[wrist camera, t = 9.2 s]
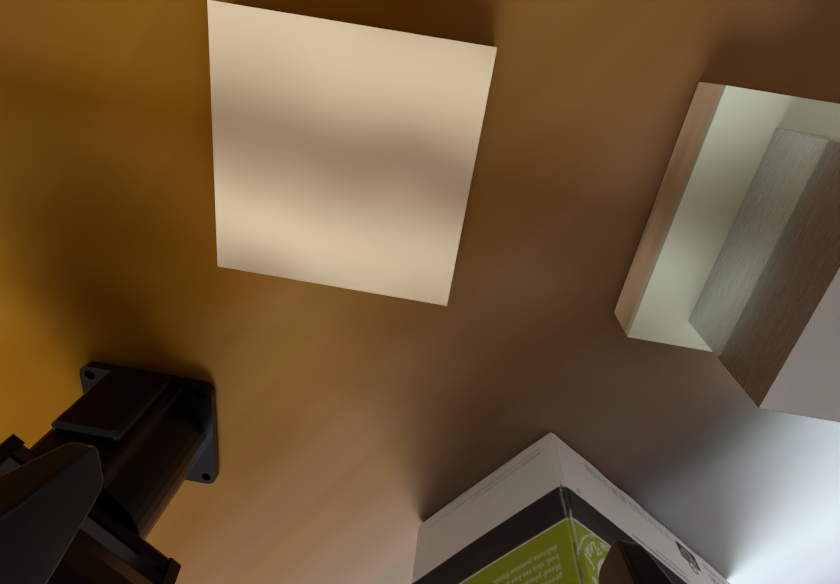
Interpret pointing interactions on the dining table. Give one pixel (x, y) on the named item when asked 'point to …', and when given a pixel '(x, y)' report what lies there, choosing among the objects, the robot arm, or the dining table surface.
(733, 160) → the stand
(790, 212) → the block
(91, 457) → the robot arm
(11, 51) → the dining table surface
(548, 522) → the tea box
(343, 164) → the stand
